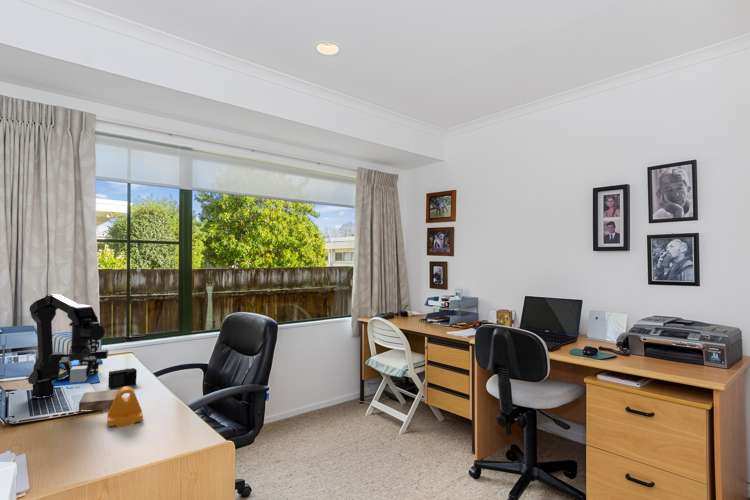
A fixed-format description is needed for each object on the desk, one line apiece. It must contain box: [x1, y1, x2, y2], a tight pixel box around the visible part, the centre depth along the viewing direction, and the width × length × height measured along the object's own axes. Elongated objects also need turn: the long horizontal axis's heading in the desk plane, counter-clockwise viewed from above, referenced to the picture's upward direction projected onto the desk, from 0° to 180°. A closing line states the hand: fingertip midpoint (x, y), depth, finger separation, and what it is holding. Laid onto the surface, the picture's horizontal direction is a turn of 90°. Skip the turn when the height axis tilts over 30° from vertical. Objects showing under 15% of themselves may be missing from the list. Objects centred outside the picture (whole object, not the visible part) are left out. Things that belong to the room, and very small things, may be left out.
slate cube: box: [69, 365, 88, 384], centre depth 167 cm, size 5×5×5 cm
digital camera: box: [107, 367, 138, 390], centre depth 193 cm, size 10×5×7 cm, turn 135°
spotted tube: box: [78, 340, 101, 376], centre depth 211 cm, size 8×8×20 cm
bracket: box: [106, 386, 144, 428], centre depth 154 cm, size 11×7×12 cm, turn 124°
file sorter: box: [52, 330, 104, 370], centre depth 229 cm, size 25×17×15 cm
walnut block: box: [78, 388, 121, 412], centre depth 169 cm, size 13×13×4 cm
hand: (78, 377), depth 167 cm, fingers closed on slate cube, 5 cm apart
